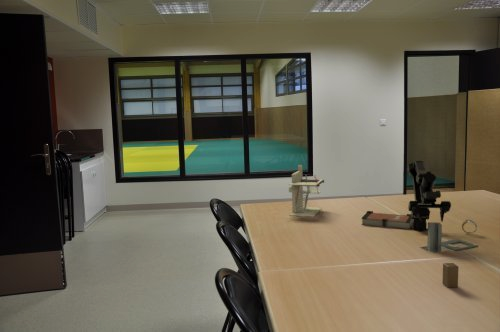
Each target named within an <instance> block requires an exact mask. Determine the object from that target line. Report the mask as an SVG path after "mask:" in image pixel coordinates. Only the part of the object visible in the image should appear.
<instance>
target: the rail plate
mask: <svg viewBox="0 0 500 332" xmlns="http://www.w3.org/2000/svg"><path fill="white" fill-rule="evenodd" d="M455 244H462V245H465V246H462V247H460V246H457V245H455ZM441 247H442V248H445V249H448V250H451V251H454V252H458V251H463V250H468V249H472V248H479V245H478V244H474V243H472V242H468V241H466V240H462V239H459V238H458V239H457V238H456V239H452V240H446V241H441Z"/></svg>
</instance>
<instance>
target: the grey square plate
mask: <svg viewBox="0 0 500 332" xmlns="http://www.w3.org/2000/svg"><path fill="white" fill-rule="evenodd" d="M427 246H428V245H425V246H421V247H419V248H420V249H422V250H425V251H427V252H430V253H433V254H437V253H442V252H447V251H449V249H448V248H445V247H442V246H441V250H437V248H433V250H429V249H428V247H427Z"/></svg>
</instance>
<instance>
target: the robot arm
mask: <svg viewBox="0 0 500 332" xmlns="http://www.w3.org/2000/svg"><path fill="white" fill-rule="evenodd" d="M407 173H408V176H409V178H410V179H411V180H412V187H413V195H414V200H409V202H408V205H407V209H408V212H410V214H411V218H412V219H413V223H412V227H410V229H411V230H415V231H417V232H423V231H424V232H425V231H428V227H427V226H428V222H427V220H429V219H430V214H431V210H430V209H439V215H440V223H441V222H444V216H445V214H447V213H448V212H450V210H451V207H452V203H451V202H450V200H441V201H440V203H437V200H438V199H439V198H441V197H442V194H441V191H440V190H436V191H433V188H434V186H435V183H436V180H437V176H436V175H435V174H434V173H432V172H431V171H429V170H427V169H426V167H425V163H424V161H423V160H413V162H411V163H409V164H408V166H407Z"/></svg>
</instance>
